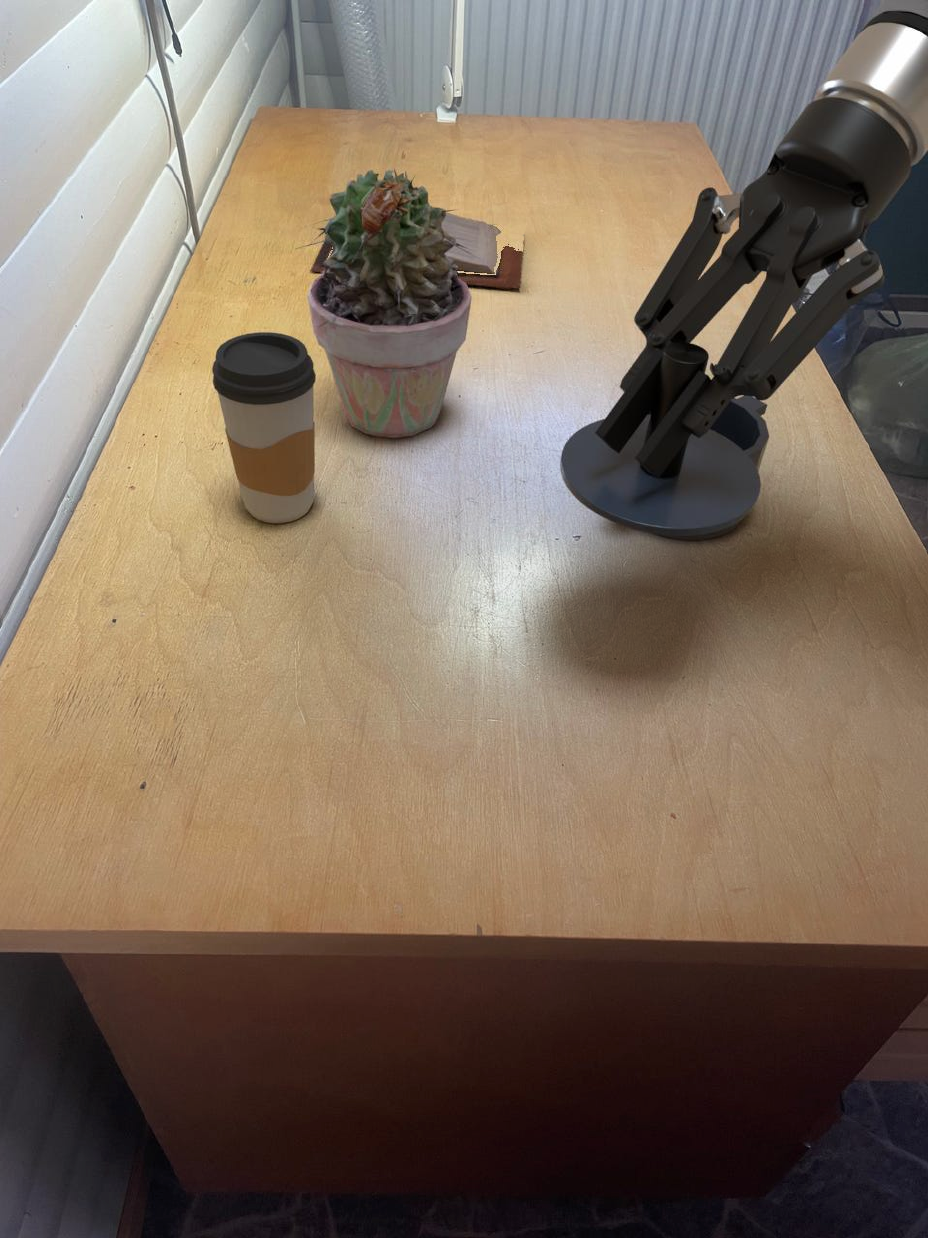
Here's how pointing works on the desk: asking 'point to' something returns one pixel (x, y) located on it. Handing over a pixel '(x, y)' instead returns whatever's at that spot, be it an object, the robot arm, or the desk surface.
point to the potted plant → (389, 305)
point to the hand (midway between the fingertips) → (627, 454)
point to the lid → (690, 485)
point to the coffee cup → (269, 422)
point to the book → (485, 250)
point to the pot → (739, 441)
